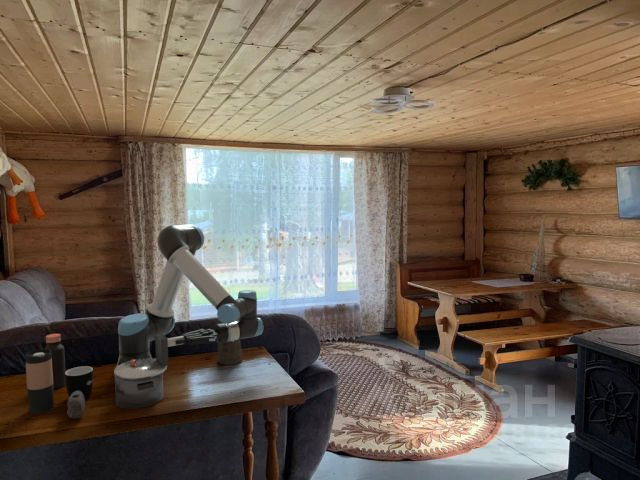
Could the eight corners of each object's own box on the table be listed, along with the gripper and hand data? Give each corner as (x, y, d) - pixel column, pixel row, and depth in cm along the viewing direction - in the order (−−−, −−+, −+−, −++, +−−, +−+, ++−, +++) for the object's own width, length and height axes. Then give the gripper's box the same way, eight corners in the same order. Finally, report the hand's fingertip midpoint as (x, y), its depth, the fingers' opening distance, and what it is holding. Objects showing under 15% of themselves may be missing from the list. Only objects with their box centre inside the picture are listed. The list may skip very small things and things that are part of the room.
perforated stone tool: (70, 404, 158) (69, 385, 157) (87, 402, 160) (86, 383, 160) (65, 424, 144) (64, 403, 144) (84, 420, 147) (83, 400, 146)
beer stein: (239, 365, 195) (238, 320, 193) (214, 365, 195) (213, 320, 193) (245, 353, 210) (245, 311, 208) (223, 353, 210) (222, 311, 208)
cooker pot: (170, 403, 159) (169, 375, 158) (121, 415, 150) (120, 386, 149) (155, 384, 175) (154, 359, 174) (111, 394, 166) (109, 367, 165)
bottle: (57, 381, 178) (54, 332, 176) (70, 383, 176) (67, 333, 174) (41, 388, 172) (38, 337, 170) (54, 390, 169) (51, 339, 168)
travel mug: (36, 404, 158) (32, 349, 156) (58, 404, 158) (55, 348, 157) (23, 415, 150) (20, 357, 148) (47, 414, 151) (44, 356, 149)
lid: (172, 372, 160) (172, 341, 159) (119, 383, 150) (118, 351, 149) (159, 358, 174) (158, 329, 173) (110, 367, 164) (108, 337, 163)
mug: (89, 402, 160) (87, 374, 159) (62, 404, 158) (60, 376, 157) (100, 388, 171) (99, 362, 171) (75, 389, 170) (73, 363, 169)
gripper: (232, 345, 174) (171, 358, 161) (219, 337, 185) (161, 348, 172) (232, 326, 174) (170, 337, 160) (219, 319, 184) (160, 328, 171)
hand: (165, 343), depth 166 cm, fingers closed
